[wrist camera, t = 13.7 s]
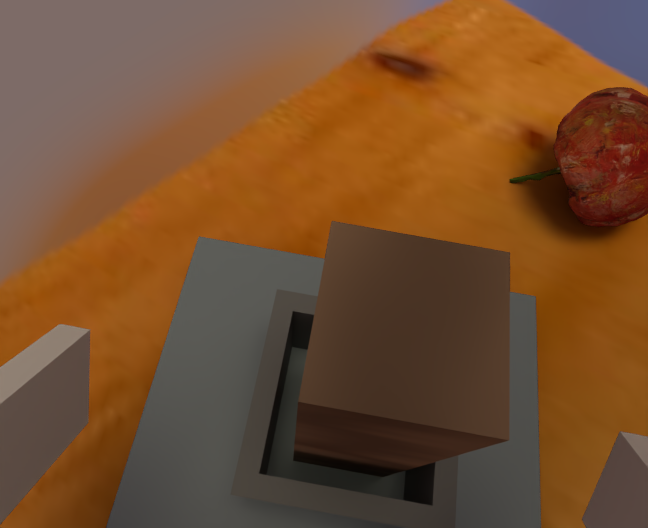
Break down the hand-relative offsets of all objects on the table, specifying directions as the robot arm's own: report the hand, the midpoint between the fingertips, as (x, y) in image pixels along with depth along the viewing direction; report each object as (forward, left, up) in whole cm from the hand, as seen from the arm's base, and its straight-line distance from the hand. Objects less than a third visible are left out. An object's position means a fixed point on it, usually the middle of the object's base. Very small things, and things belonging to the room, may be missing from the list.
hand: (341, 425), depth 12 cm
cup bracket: (-1, -2, -12) cm, 12 cm away
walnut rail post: (-1, -2, -11) cm, 11 cm away
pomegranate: (-13, -18, -12) cm, 25 cm away
